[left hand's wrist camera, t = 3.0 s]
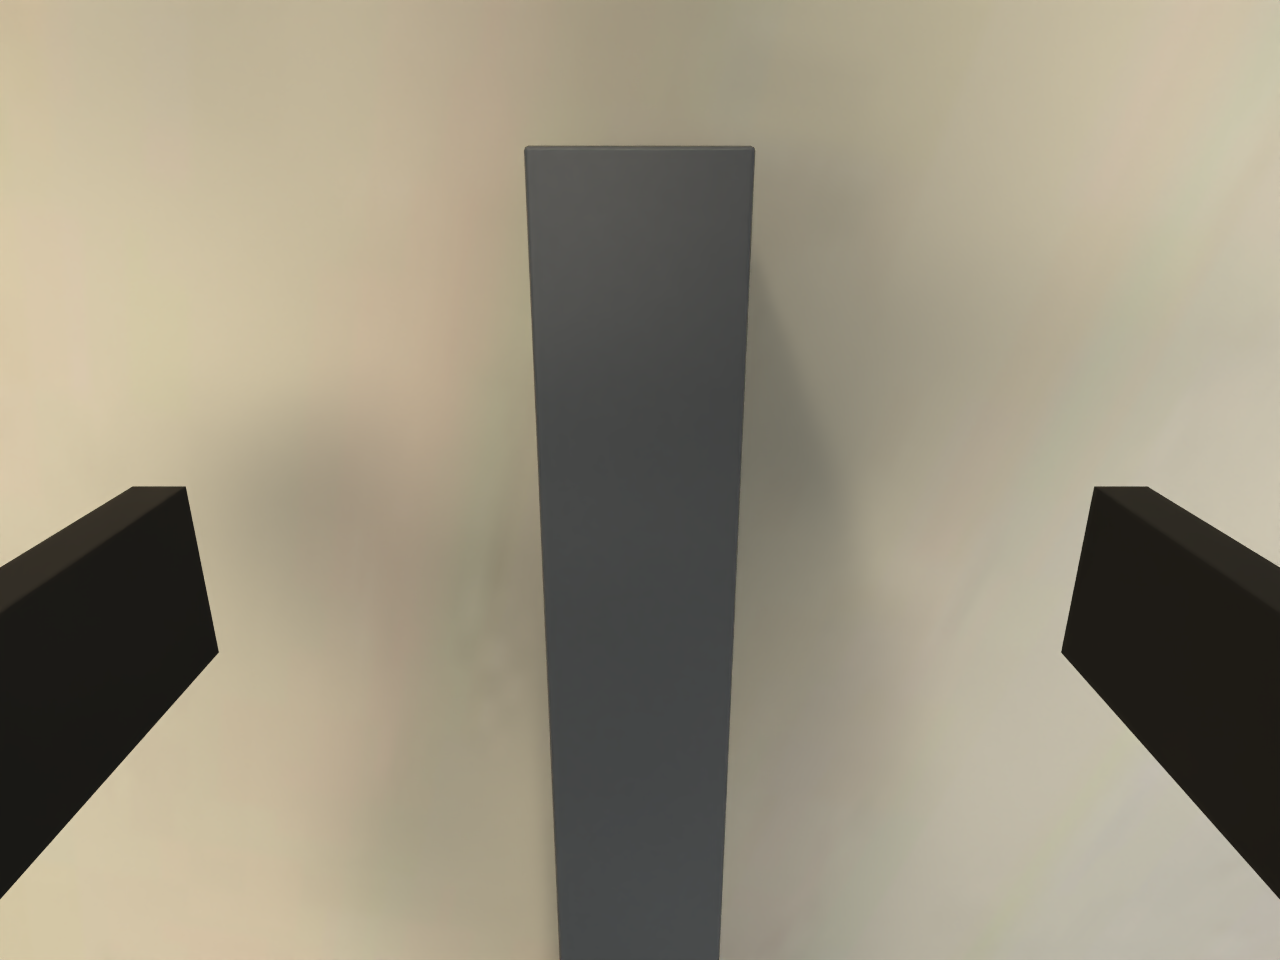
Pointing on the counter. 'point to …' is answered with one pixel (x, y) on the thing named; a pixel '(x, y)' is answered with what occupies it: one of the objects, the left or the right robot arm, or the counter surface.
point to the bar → (639, 528)
